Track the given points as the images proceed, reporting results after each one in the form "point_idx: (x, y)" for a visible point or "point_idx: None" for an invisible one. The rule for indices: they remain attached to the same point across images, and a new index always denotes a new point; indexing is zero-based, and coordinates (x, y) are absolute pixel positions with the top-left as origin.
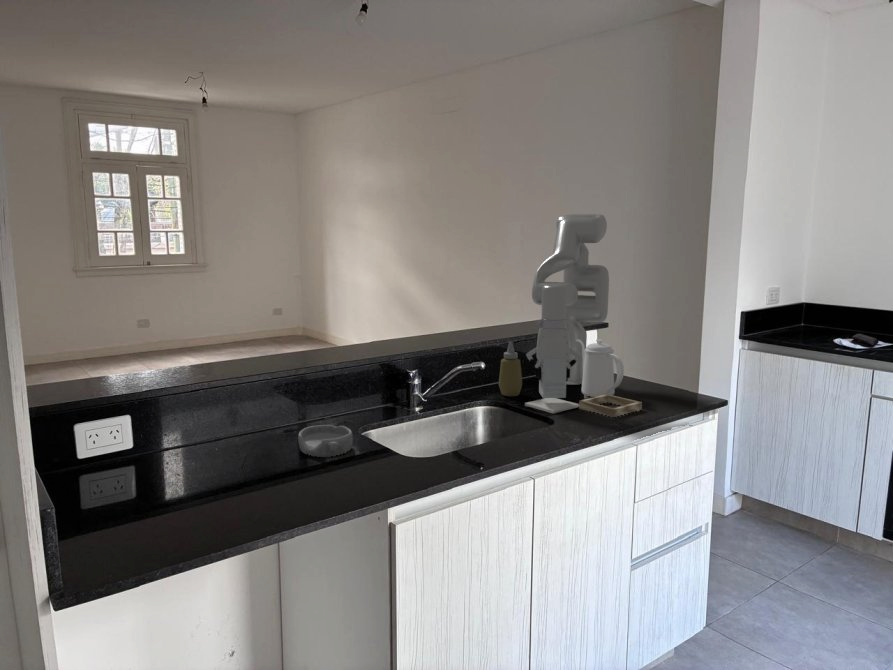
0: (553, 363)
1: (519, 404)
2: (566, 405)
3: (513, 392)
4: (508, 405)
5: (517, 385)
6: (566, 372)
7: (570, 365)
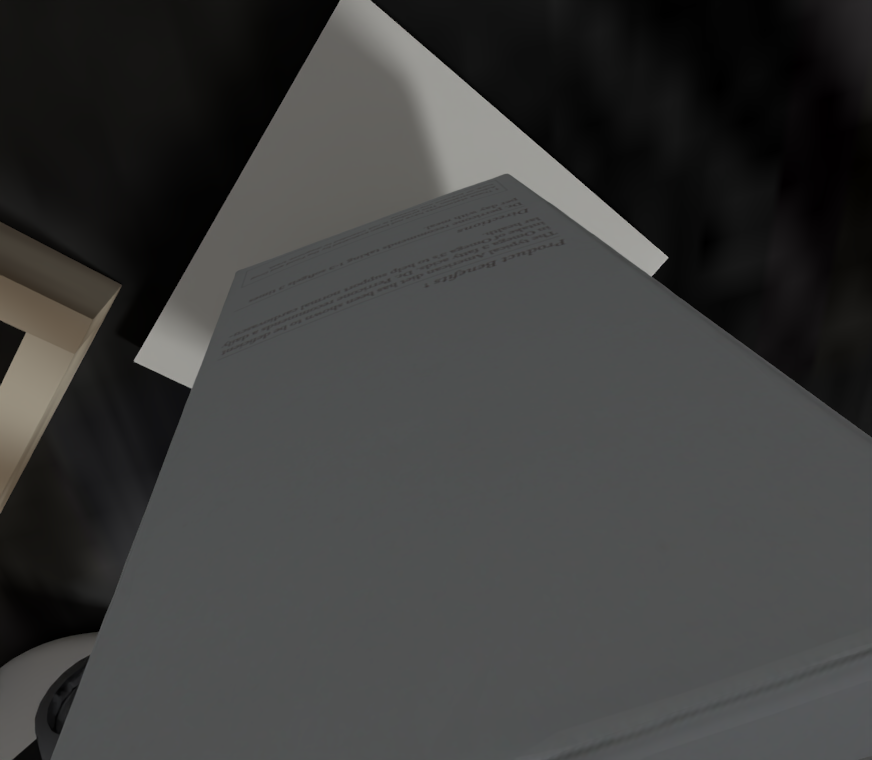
0: (520, 559)
1: (701, 273)
2: None
3: None
4: (804, 210)
5: None
6: None
7: (41, 739)
